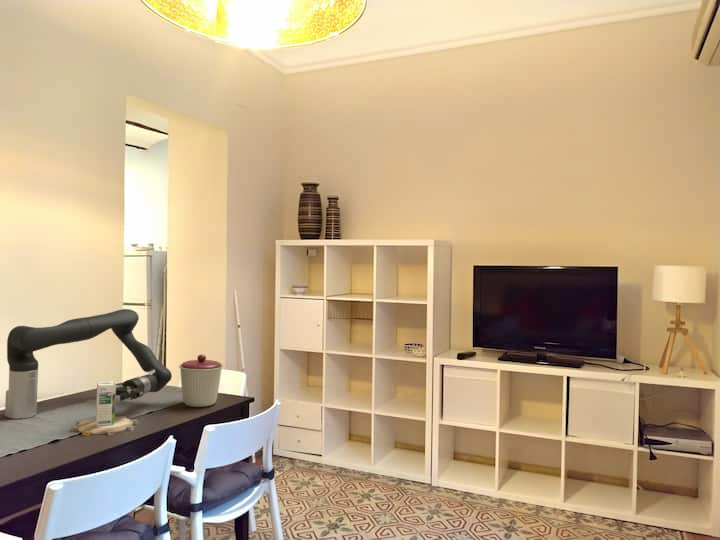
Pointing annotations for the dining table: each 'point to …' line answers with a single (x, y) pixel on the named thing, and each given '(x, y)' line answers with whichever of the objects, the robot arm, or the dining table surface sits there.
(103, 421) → the syrup box
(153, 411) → the dining table surface
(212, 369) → the canister
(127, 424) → the sprocket
